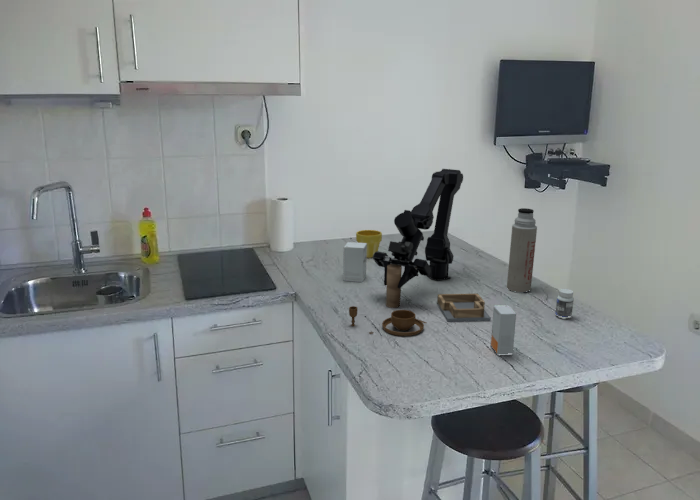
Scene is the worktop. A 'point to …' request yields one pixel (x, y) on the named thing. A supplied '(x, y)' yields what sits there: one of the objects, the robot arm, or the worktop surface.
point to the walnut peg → (393, 286)
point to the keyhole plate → (462, 307)
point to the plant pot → (369, 240)
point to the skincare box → (503, 329)
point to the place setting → (396, 321)
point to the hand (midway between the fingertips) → (391, 286)
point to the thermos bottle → (522, 251)
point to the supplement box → (354, 261)
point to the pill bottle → (564, 303)
